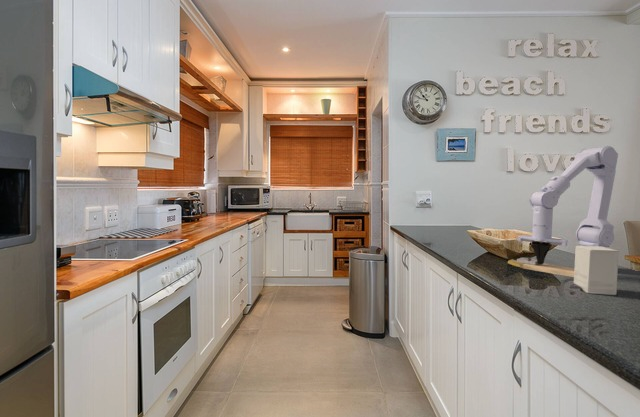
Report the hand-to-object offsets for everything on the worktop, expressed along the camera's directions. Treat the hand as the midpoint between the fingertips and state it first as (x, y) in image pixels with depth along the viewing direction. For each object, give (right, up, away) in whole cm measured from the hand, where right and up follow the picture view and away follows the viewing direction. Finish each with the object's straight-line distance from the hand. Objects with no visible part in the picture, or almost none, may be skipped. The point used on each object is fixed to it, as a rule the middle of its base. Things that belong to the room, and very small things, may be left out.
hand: (540, 263), depth 116 cm
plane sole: (+2, -3, -3) cm, 5 cm away
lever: (-3, -2, +4) cm, 5 cm away
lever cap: (-2, 0, +3) cm, 4 cm away
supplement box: (+2, -5, -21) cm, 21 cm away
